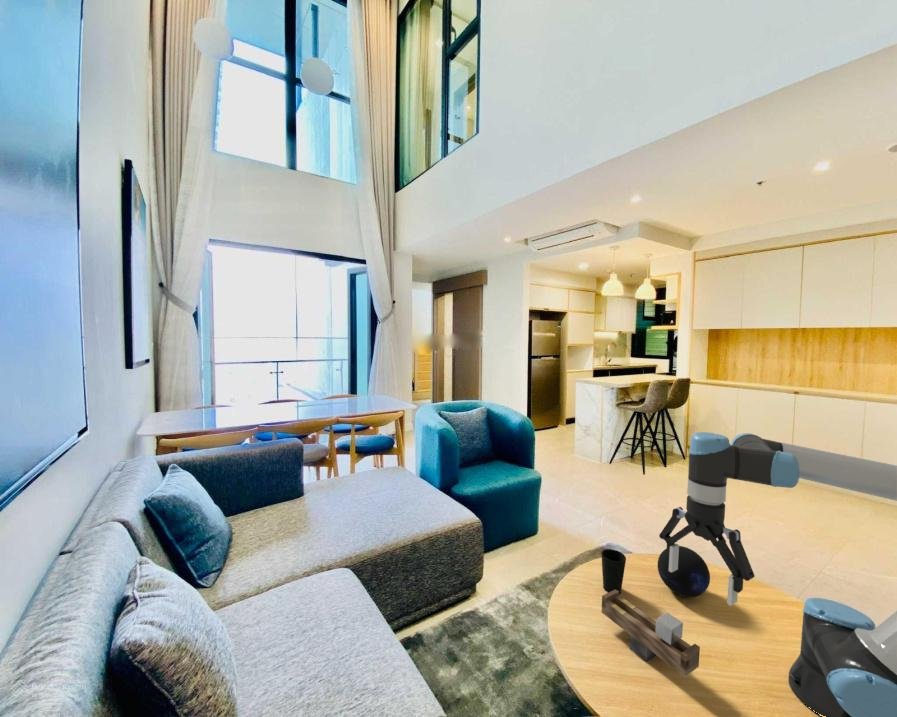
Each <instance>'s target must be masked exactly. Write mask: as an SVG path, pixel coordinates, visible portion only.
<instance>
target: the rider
mask: <svg viewBox="0 0 897 717" xmlns="http://www.w3.org/2000/svg"><path fill="white" fill-rule="evenodd" d="M655 621H656V632H655V634H656V635H658V636H659V637H660V638H662V639H663V640H665V641H666V642H667V643H669V644H670V645H671V646H673V647H674V648H676V647H677V641H678V640H679V639H682V638H683V630H684V629H683V628H684V623H683V621H681V620H680V619H678V618H676V617H675V616H673V615H672V614H670V613H669V612H665V613H664V614H662V615H661V616H660V617H658V618H656V619H655Z"/></svg>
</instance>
